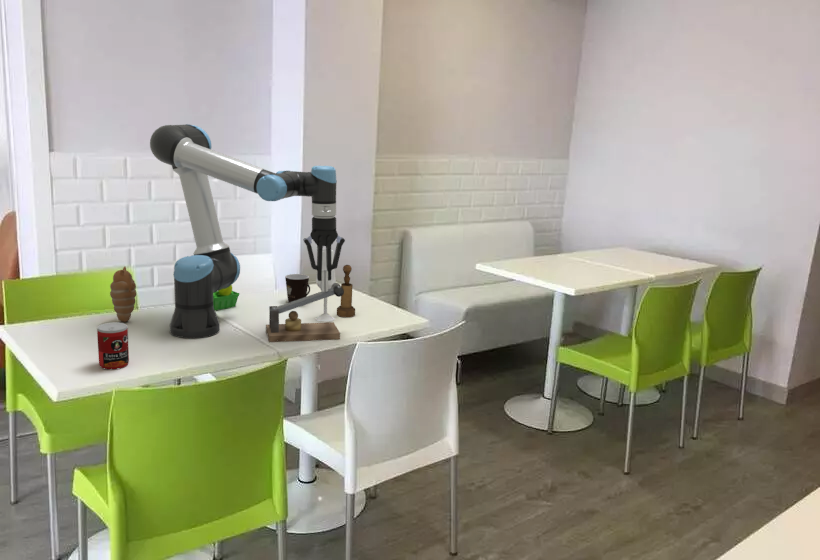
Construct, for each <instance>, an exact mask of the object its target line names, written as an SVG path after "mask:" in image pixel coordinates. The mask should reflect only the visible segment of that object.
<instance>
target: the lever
mask: <svg viewBox="0 0 820 560" xmlns="http://www.w3.org/2000/svg"><path fill="white" fill-rule="evenodd" d="M343 294H344V290H343V288H342V287H341V285H340V283H338V282H336V283H334V284H333V285H332V286H331V288H330V289H328V291H325V290H324V292H322V291H321V290H320V291H318V292H315V293H313V294H310V295H307V296H306V297H304V298H301V299H298V300H295V301H292V302H289V303H288V302H287V303H284V304H282V305H277V307H271V308H270V313H271V310H279V315H280V314H283V313H285V312H288V311H293V310H295V309H297V308H300V307H303V306H305V305H308V304H309V305H310V304H312V303H315V302H318V301H320V300H324V298H326V297H327V298H329V297H332V296H335V297H338V298H339V297H340V298H341V296H342V295H343Z"/></svg>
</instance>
